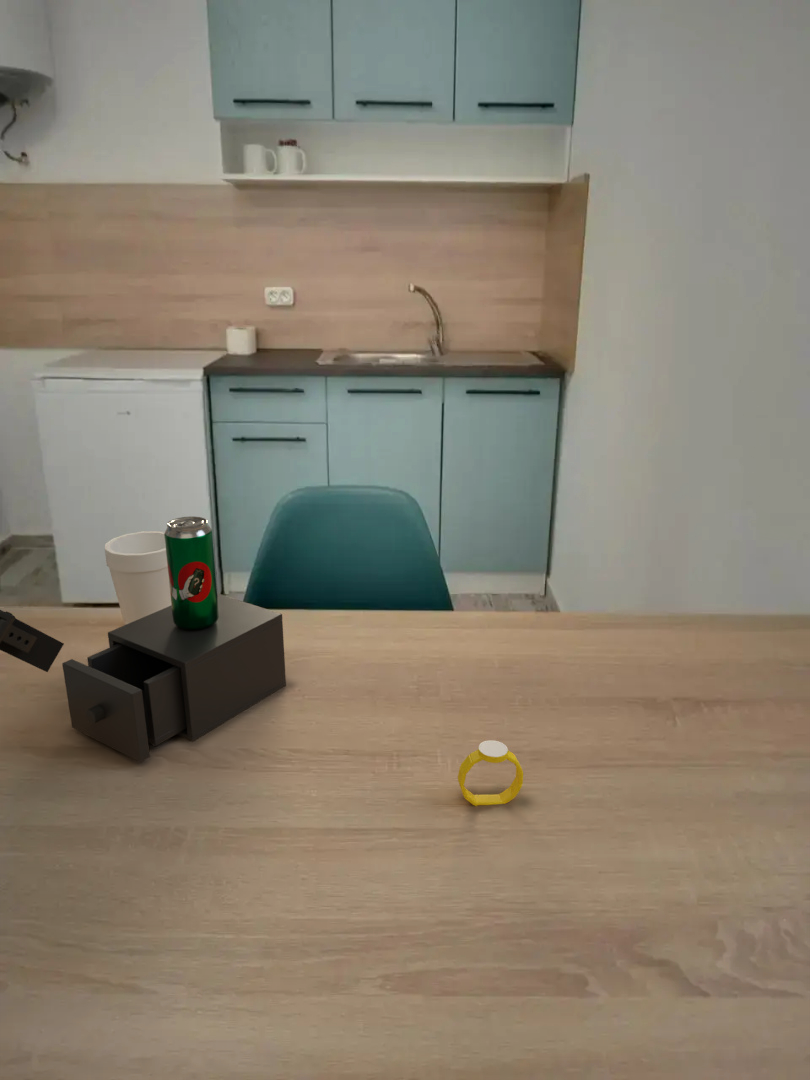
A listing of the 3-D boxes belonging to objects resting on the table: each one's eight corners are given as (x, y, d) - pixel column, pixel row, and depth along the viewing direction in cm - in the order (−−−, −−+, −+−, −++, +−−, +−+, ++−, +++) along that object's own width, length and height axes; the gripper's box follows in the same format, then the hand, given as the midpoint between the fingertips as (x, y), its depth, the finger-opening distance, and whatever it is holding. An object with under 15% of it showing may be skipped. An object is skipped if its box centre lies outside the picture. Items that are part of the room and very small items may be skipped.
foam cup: (169, 650, 108) (159, 557, 104) (103, 645, 110) (91, 553, 105) (197, 619, 117) (189, 533, 113) (136, 615, 118) (126, 529, 114)
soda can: (228, 619, 95) (221, 519, 91) (197, 636, 90) (187, 532, 86) (196, 610, 97) (187, 512, 93) (163, 626, 93) (153, 524, 89)
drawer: (130, 768, 82) (121, 699, 80) (61, 732, 88) (51, 667, 86) (238, 705, 94) (233, 642, 91) (170, 677, 100) (164, 618, 97)
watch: (461, 814, 77) (462, 759, 75) (455, 795, 80) (456, 742, 78) (523, 808, 78) (527, 754, 76) (516, 790, 80) (519, 737, 78)
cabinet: (192, 743, 88) (184, 663, 85) (117, 708, 95) (107, 632, 92) (286, 687, 99) (282, 613, 96) (213, 658, 106) (207, 589, 103)
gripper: (-326, 535, 64) (-87, 640, 80) (-181, 609, 50) (70, 716, 67) (-262, 454, 66) (-43, 572, 83) (-107, 504, 53) (117, 633, 69)
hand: (8, 637), depth 75 cm, fingers open, 13 cm apart
